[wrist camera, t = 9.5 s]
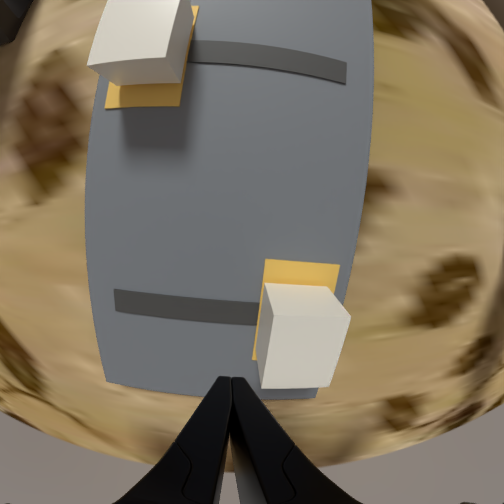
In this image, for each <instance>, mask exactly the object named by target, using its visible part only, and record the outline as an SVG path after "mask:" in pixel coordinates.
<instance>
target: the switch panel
mask: <svg viewBox="0 0 504 504" xmlns="http://www.w3.org/2000/svg"><path fill="white" fill-rule="evenodd" d="M190 3H191V7H192V11H193V15H194V20H193V24H192V29H191V33H190V38H189V42H188V47H187V52H186V57H185V62H184V67H183V73H182V79H181V83H156V84H135V85H122V86H116V85H114V84H113V83H112V82H110V81H109V80H107V79H106V78H104V77H103V76H101V75H100V76H99V80H98V85H97V90H96V95H95V101H94V107H93V113H92V119H91V127H90V135H89V144H88V154H87V167H86V185H85V239H86V258H87V271H88V281H89V291H90V299H91V306H92V313H93V320H94V326H95V331H96V337H97V342H98V347H99V352H100V356H101V361H102V365H103V370H104V374H105V378H106V382H110V383H115V384H120V385H125V386H130V387H135V388H141V389H147V390H153V391H159V392H166V393H174V394H182V395H191V396H202V397H205V395H206V394H207V392H208V391H209V389H210V388H211V386H212V385H213V383H214V382H215V380H216V379H217V377H218V376H230V377H231V378H232V377H244V378H245V379H246V380H247V382H248V383H249V384H250V386H251V387H252V388H253V390H254V391H255V393H256V394H257V395H258V397H259V398H260V399H307V398H315V397H316V394H317V391H318V388H319V387H317V388H291V389H261V383H260V377H259V370H258V363H257V356H256V349H255V348H256V341H257V334H258V327H259V319H260V312H261V305H262V297H263V290H264V283H276V284H292V285H309V286H327V287H328V288H329V289H330V291H331V292H332V293H333V294H334V296H335V297H336V298H337V299H338V301H339V302H340V303H341V304H342V306H343V303H344V299H345V295H346V290H347V286H348V282H349V277H350V273H351V268H352V263H353V258H354V253H355V248H356V243H357V238H358V232H359V226H360V220H361V214H362V208H363V201H364V194H365V187H366V179H367V171H368V162H369V152H370V142H371V129H372V114H373V90H374V42H373V20H372V7H371V0H190Z"/></svg>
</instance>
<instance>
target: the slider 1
mask: <svg viewBox="0 0 504 504" xmlns="http://www.w3.org/2000/svg"><path fill="white" fill-rule="evenodd" d="M193 20H194V15H193V11H192V7H191V3H190V0H108V1H107V4H106V6H105V9H104V12H103V14H102V17H101V20H100V23H99V26H98V29H97V32H96V35H95V38H94V41H93V44H92V48H91V51H90V55H89V59H88V63H87V66H88V67H89V68H91V69H92V70H94V71H95V72H97V73H98V74H100V75H101V76H103V77H104V78H106V79H107V80H109V81H110V82H112V83H113V84H114V85H116V86H122V85H135V84H156V83H181V79H182V73H183V67H184V62H185V57H186V52H187V47H188V42H189V38H190V33H191V29H192V24H193Z"/></svg>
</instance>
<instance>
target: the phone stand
mask: <svg viewBox="0 0 504 504" xmlns="http://www.w3.org/2000/svg"><path fill="white" fill-rule="evenodd" d="M33 1H34V0H0V45H2V44H5V43H8V42H10V41H13V40H14V39H15V37H16V35H17V32H18V30H19V28H20V26H21V24H22V22H23V20H24V18H25V16H26V14H27V12H28V10H29V8H30V6H31V4H32V2H33Z"/></svg>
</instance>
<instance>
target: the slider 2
mask: <svg viewBox="0 0 504 504" xmlns="http://www.w3.org/2000/svg"><path fill="white" fill-rule="evenodd" d="M350 319H351V316H350V315H349V313H348V312H347V311H346V310H345V308H344V307H343V306H342V304H341V303H340V302H339V301H338V299H337V298H336V297H335V296H334V294H333V293H332V292H331V291H330V289H329V288H328V287H327V286H309V285H292V284H276V283H264V290H263V297H262V305H261V312H260V319H259V327H258V334H257V341H256V348H255V349H256V356H257V363H258V370H259V377H260V383H261V389H291V388H317V387H329V385H330V382H331V379H332V376H333V374H334V371H335V368H336V365H337V362H338V359H339V356H340V353H341V349H342V346H343V343H344V340H345V336H346V333H347V330H348V326H349V323H350Z"/></svg>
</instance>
